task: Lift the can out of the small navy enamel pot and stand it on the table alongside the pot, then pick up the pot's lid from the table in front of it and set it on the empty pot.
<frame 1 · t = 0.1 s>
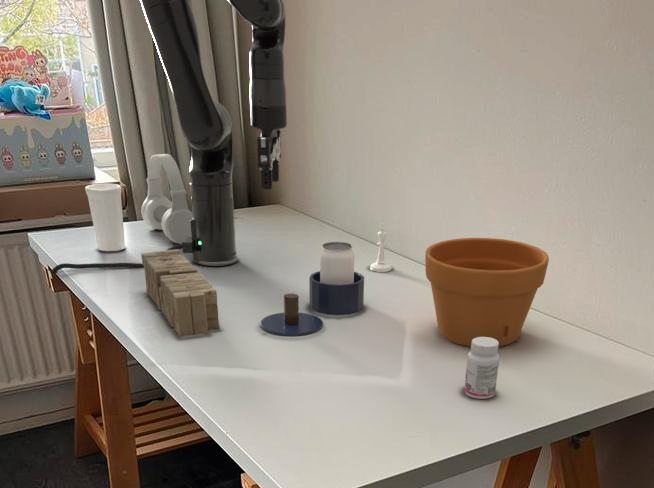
hand: (270, 184, 169), 17 cm above the table, tool pointing down, fingers open, 8 cm apart
headphones: (170, 236, 198), on the table
can: (336, 308, 152), resting on pot
pot: (336, 308, 152), on the table
pill bottle: (479, 394, 120), on the table
block tower: (181, 312, 149), on the table
lid: (291, 325, 142), point 1 cm above the table
cup: (111, 250, 186), on the table
flower pot: (477, 335, 142), on the table
chess piece: (380, 269, 176), on the table
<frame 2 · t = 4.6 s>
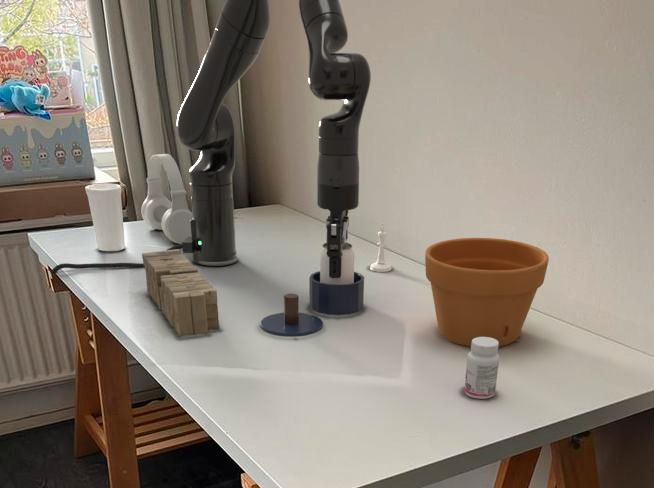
hand: (337, 271, 148), 7 cm above the table, tool pointing down, fingers closed on can, 6 cm apart
can: (336, 308, 152), resting on pot, touching gripper
everything else where it was.
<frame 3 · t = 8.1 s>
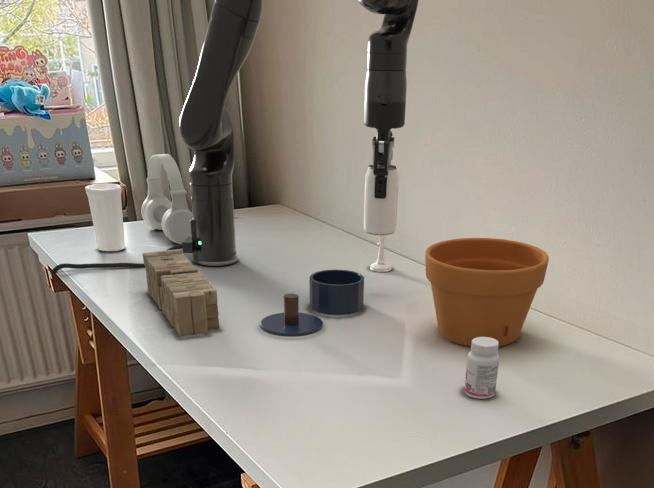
hand: (381, 194, 149), 20 cm above the table, tool pointing down, fingers closed on can, 6 cm apart
can: (379, 232, 153), point 13 cm above the table, touching gripper
everything else where it was.
when the fingers open (7 cm above the table, at t = 11.6 s): can stays where it is, on the table.
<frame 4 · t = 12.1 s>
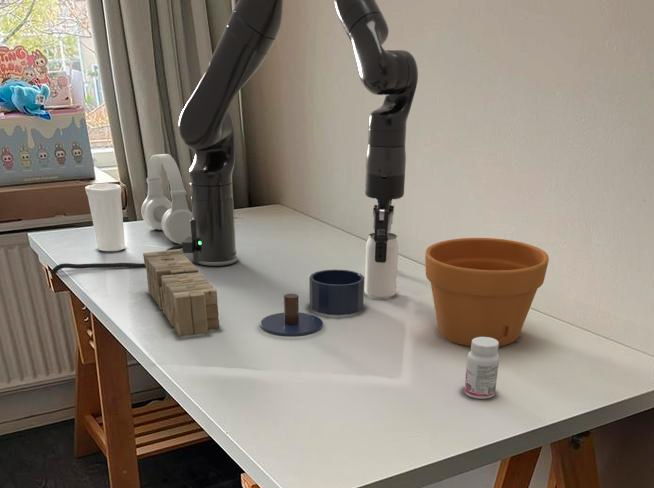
hand: (381, 256, 156), 8 cm above the table, tool pointing down, fingers open, 8 cm apart
can: (380, 295, 160), on the table
everything else where it was.
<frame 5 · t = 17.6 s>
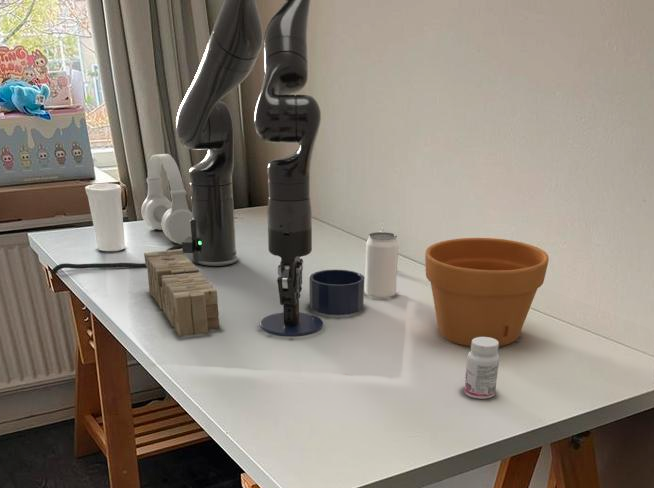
hand: (291, 321, 142), 1 cm above the table, tool pointing down, fingers closed on lid, 2 cm apart
lid: (291, 325, 142), point 1 cm above the table, touching gripper
everything else where it was.
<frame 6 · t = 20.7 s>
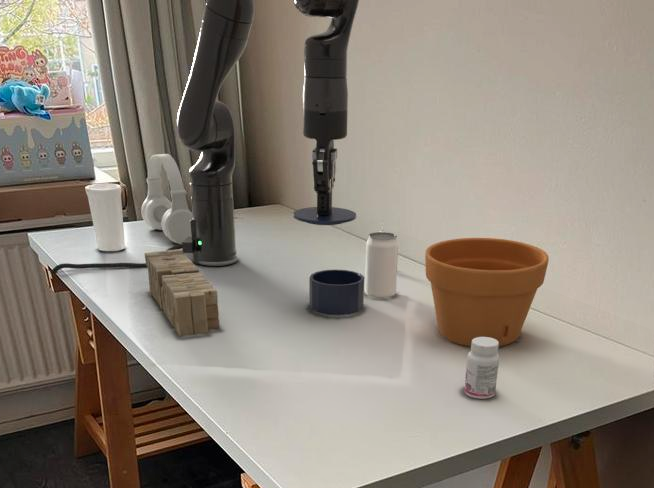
hand: (324, 212, 140), 19 cm above the table, tool pointing down, fingers closed on lid, 2 cm apart
lid: (324, 216, 140), point 18 cm above the table, touching gripper
everything else where it was.
when the fingers open (7 cm above the table, at t = 24.1 s): lid stays where it is, resting on pot.
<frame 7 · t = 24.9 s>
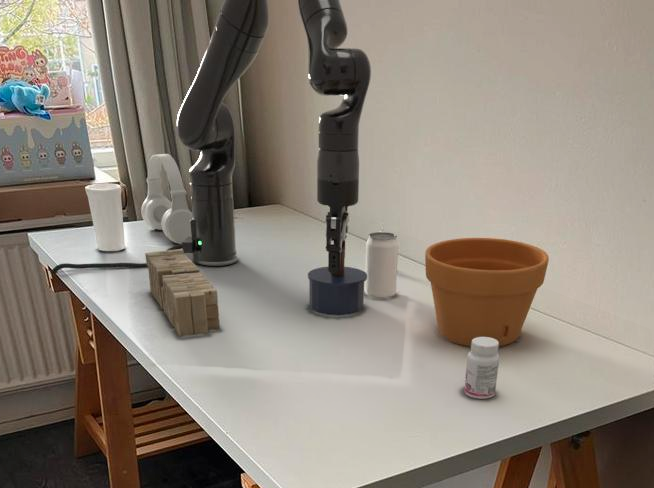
hand: (336, 265, 148), 8 cm above the table, tool pointing down, fingers open, 8 cm apart
lid: (337, 277, 149), point 6 cm above the table, touching pot
everything else where it was.
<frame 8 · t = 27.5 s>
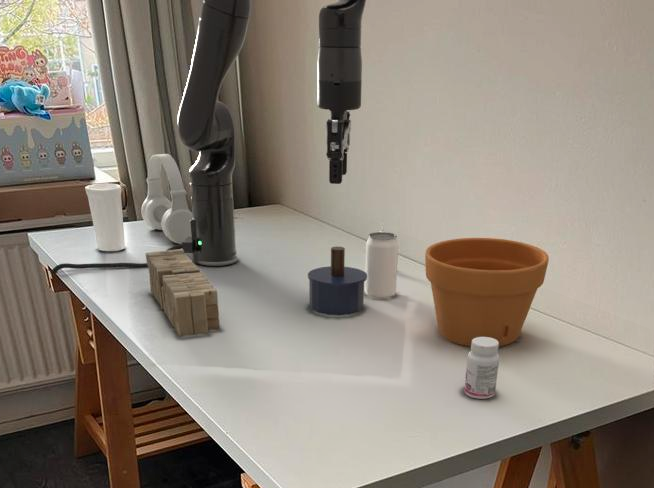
hand: (338, 178, 139), 24 cm above the table, tool pointing down, fingers open, 8 cm apart
nothing on the table moved.
at the end: can inside the target area (0.1 cm from its centre), on the table; can tilted 0°; lid 0.1 cm off-centre on the pot, point 6.2 cm above the pot's base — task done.
